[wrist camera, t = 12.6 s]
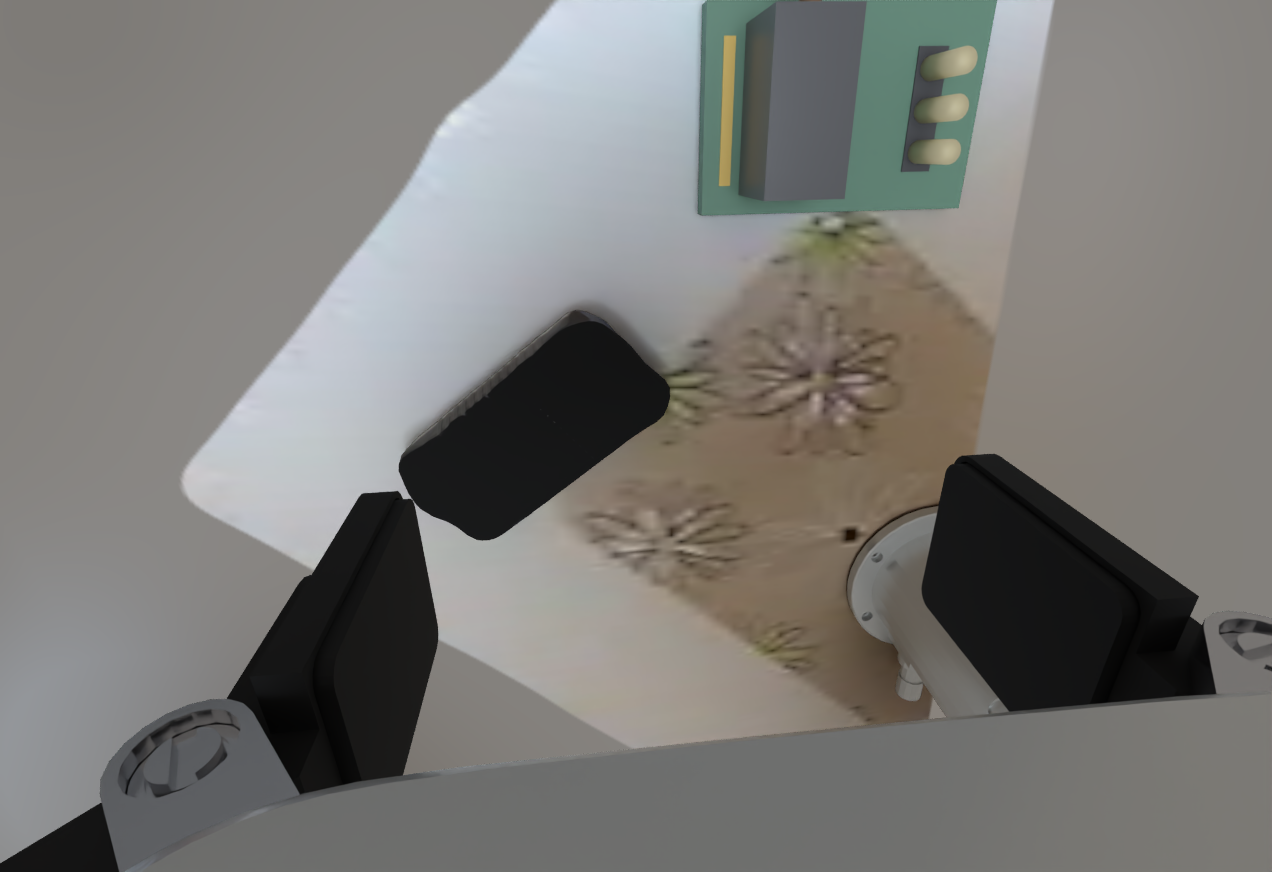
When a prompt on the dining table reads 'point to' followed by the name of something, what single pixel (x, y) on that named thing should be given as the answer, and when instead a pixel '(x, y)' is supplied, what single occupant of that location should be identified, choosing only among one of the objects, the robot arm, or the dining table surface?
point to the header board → (861, 106)
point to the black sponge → (533, 427)
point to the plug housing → (800, 99)
